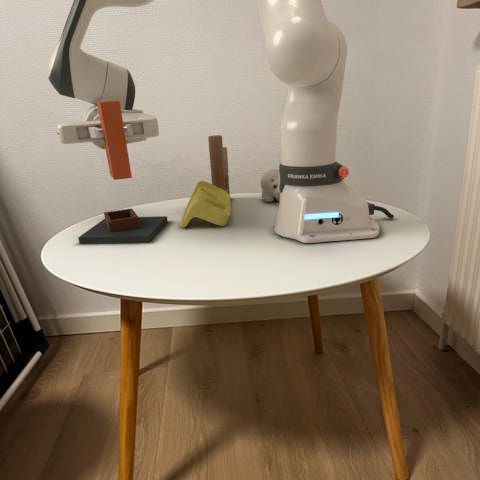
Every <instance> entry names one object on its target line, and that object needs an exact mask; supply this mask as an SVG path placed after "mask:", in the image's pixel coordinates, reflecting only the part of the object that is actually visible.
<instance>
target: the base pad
mask: <svg viewBox="0 0 480 480" xmlns="http://www.w3.org/2000/svg"><path fill="white" fill-rule="evenodd" d="M103 216H104V219H102V220H101V221H99V222H97V223H96V224H95V225H93V226H92V227H91V228H89V229H88V230H86V231H85V232H84V233H82V234H81V235H80V236H78V237H77V238H78V243H79V244H80V245H99V244H101V245H103V244H104V245H105V244H106V245H107V244H150V243H151V241H152V240H153V239H154V238H155V237H156V236H157V235H158V234H159V232H161V230H163V228H164V227H165V226H166V225H167V224H168V222H169V219H168V216H167V215H163V216H162V215H161V216H157V215H156V216H139V215H138V214H137V213H136V212H135V211H134V209H133V208H131V207H130V208H123V209H117V210H111V211H104V212H103Z"/></svg>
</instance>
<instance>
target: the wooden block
mask: <svg viewBox="0 0 480 480" xmlns="http://www.w3.org/2000/svg"><path fill="white" fill-rule="evenodd" d="M207 141H208V153H209V164H210V166H209V167H210V177H211V184H213V185H215V186H216V187H218V188H221V189H223V190H224V191H226V192H227V193H228V194H229V195H230V196H231V192H230V179H229V177H230V176H229V161H228V147H226V146H223V136H222V135H219V134H215V135H214V134H213V135H209V136H208V137H207Z"/></svg>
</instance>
